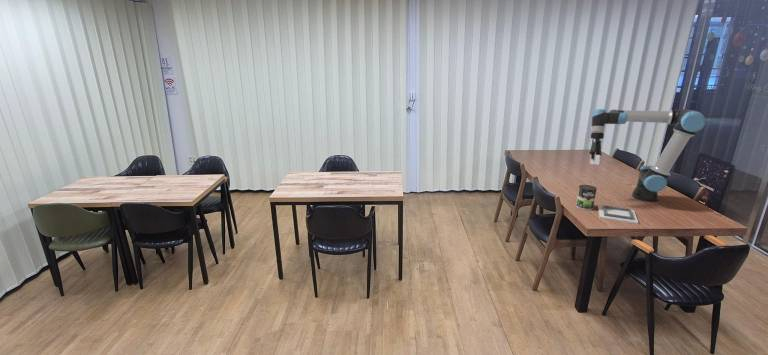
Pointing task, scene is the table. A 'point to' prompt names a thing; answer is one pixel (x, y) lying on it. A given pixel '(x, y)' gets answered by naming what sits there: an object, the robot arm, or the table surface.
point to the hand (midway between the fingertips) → (594, 164)
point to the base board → (617, 214)
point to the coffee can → (586, 197)
